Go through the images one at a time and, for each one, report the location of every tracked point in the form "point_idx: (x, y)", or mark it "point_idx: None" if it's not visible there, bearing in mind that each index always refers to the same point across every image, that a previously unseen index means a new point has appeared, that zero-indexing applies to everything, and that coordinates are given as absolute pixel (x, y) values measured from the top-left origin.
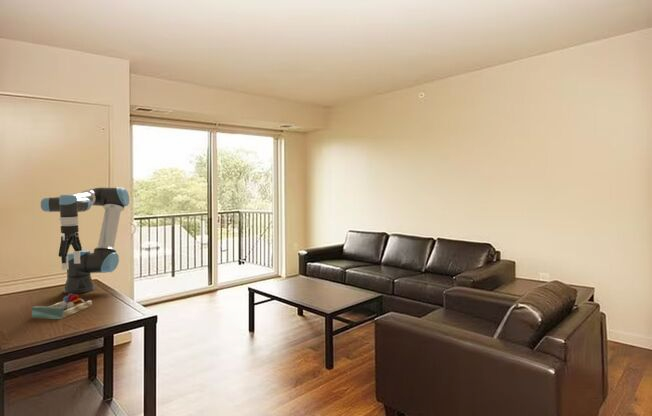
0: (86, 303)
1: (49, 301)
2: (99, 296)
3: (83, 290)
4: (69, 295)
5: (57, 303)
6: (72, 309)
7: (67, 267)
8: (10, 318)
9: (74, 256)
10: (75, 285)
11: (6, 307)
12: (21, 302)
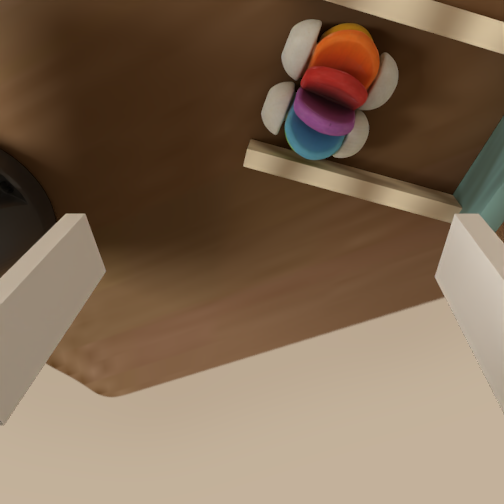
0: None
1: (186, 253)
2: (73, 15)
3: (12, 168)
4: (341, 122)
5: (318, 180)
6: (492, 19)
7: (491, 232)
8: (425, 291)
9: (52, 337)
10: (14, 219)
11: (258, 352)
12: (196, 336)
